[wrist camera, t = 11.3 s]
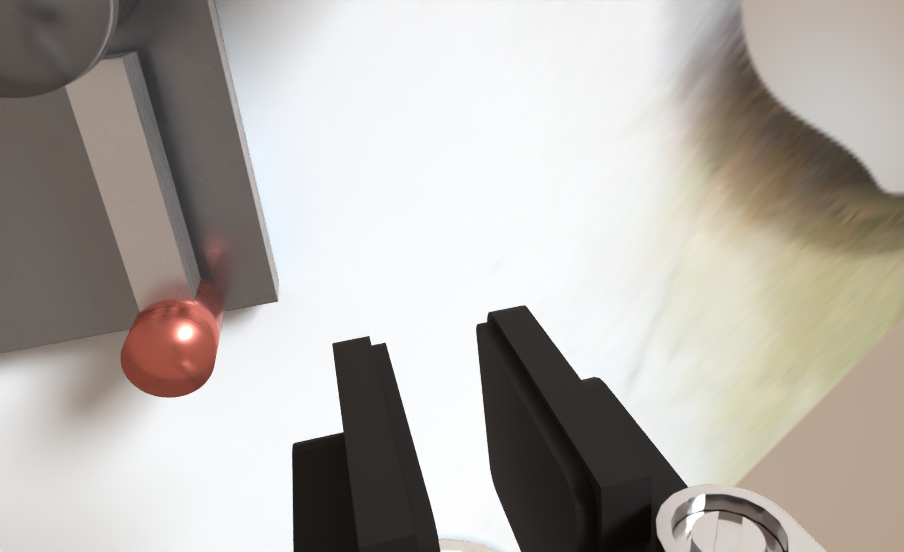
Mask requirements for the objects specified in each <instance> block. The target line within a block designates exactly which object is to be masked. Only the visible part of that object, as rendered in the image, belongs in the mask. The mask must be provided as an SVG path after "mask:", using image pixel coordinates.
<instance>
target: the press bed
mask: <svg viewBox="0 0 904 552" xmlns="http://www.w3.org/2000/svg"><path fill="white" fill-rule="evenodd" d="M133 51H137V54H138V58H139V62H140V65H141V69H142V72H143V76H144V79H145V83H146V86H147V90H148V93H149V97H150V100H151V104H152V108H153V111H154V115H155V118H156V122H157V125H158V129H159V132H160V136H161V139H162V143H163V146H164V150H165V154H166V157H167V161H168V164H169V168H170V171H171V175H172V178H173V182H174V185H175V189H176V192H177V196H178V200H179V203H180V207H181V210H182V214H183V217H184V221H185V224H186V228H187V231H188V235H189V238H190V242H191V246H192V249H193V253H194V256H195V260H196V263H197V267H198V270H199V274H200V277H201V278H202V279H204V280H205V281H207V282H209V283H210V284H211V285H212V286H214V288H215V289H216V290H217V291H218V292H219V294H220V296H221V298H222V300H223V304H224V311H229V310H235V309H240V308H245V307H251V306H256V305H262V304H267V303H272V302H278V281H279V280H278V276H277V272H276V267H275V263H274V259H273V254H272V250H271V246H270V241H269V237H268V233H267V228H266V224H265V220H264V215H263V211H262V207H261V202H260V198H259V194H258V189H257V185H256V181H255V176H254V172H253V168H252V163H251V159H250V155H249V150H248V146H247V141H246V137H245V133H244V128H243V124H242V120H241V115H240V111H239V107H238V102H237V98H236V94H235V89H234V85H233V81H232V76H231V72H230V68H229V63H228V59H227V55H226V50H225V46H224V42H223V37H222V33H221V29H220V24H219V20H218V16H217V11H216V7H215V3H214V0H0V353H4V352H10V351H15V350H20V349H26V348H31V347H36V346H42V345H47V344H53V343H58V342H63V341H69V340H74V339H79V338H85V337H90V336H95V335H101V334H106V333H111V332H117V331H122V330H128V329H131V327H132V325H133V323H134V321H135V318H136V316H137V314H138V312H139V308H138V305H137V302H136V299H135V296H134V293H133V290H132V287H131V284H130V281H129V278H128V275H127V272H126V269H125V266H124V263H123V260H122V257H121V254H120V251H119V248H118V245H117V242H116V239H115V236H114V233H113V230H112V227H111V224H110V221H109V218H108V215H107V211H106V208H105V205H104V202H103V199H102V196H101V193H100V190H99V187H98V184H97V181H96V178H95V175H94V172H93V169H92V166H91V163H90V160H89V157H88V154H87V151H86V148H85V145H84V142H83V139H82V136H81V133H80V130H79V127H78V124H77V121H76V118H75V115H74V112H73V109H72V106H71V103H70V100H69V97H68V94H67V91H66V88H65V86H66V85H68V84H70V83H72V82H74V81H76V80H78V79H80V78H81V77H83V76H84V75H86V74H87V73H88V72H90V71H91V70H92V69H93V68H94V67H95V66H96V65H97V64H98V63H99V62H100V61H101V59H102V58H103V56H104V55H109V54H117V53H125V52H133Z"/></svg>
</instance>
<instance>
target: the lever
mask: <svg viewBox="0 0 904 552" xmlns="http://www.w3.org/2000/svg"><path fill="white" fill-rule="evenodd" d="M65 88H66V91H67V94H68V97H69V100H70V103H71V106H72V109H73V112H74V115H75V118H76V121H77V124H78V127H79V130H80V133H81V136H82V139H83V142H84V145H85V148H86V151H87V154H88V157H89V160H90V163H91V166H92V169H93V172H94V175H95V178H96V181H97V184H98V187H99V190H100V193H101V196H102V199H103V202H104V205H105V208H106V211H107V215H108V218H109V221H110V224H111V227H112V230H113V233H114V236H115V239H116V242H117V245H118V248H119V251H120V254H121V257H122V260H123V263H124V266H125V269H126V272H127V275H128V278H129V281H130V284H131V287H132V290H133V293H134V296H135V299H136V302H137V305H138V308H139V312H138V314H137V316H136V318H135V321H134V323H133V325H132V327H131V329H130V332H129V334H128V336H127V338H126V341H125V343H124V345H123V348H122V351H121V365H122V368H123V371H124V373H125V375H126V376H127V378H128V379H129V380H130V382H131V383H132V384H133V385H135V386H136V387H137V388H139V389H140V390H142V391H144V392H146V393H148V394H151V395H154V396H159V397H179V396H184V395H187V394H190V393H192V392H194V391H196V390H197V389H199V388H200V387H201V386H203V385H204V384H205V383H206V381H207V380H208V379H209V377H210V376H211V374H212V372H213V368H214V364H215V359H216V354H217V348H218V343H219V338H220V332H221V327H222V322H223V316H224V304H223V300H222V298H221V296H220V294H219V292H218V291H217V290H216V289H215V288H214V286H212V285H211V284H210V283H209V282H207V281H205V280H204V279H202V278H201V277H200V274H199V270H198V267H197V263H196V260H195V256H194V253H193V249H192V246H191V242H190V238H189V235H188V231H187V228H186V224H185V221H184V217H183V214H182V210H181V207H180V203H179V200H178V196H177V192H176V189H175V185H174V182H173V178H172V175H171V171H170V168H169V164H168V161H167V157H166V154H165V150H164V146H163V143H162V139H161V136H160V132H159V129H158V125H157V122H156V118H155V115H154V111H153V108H152V104H151V100H150V97H149V93H148V90H147V86H146V83H145V79H144V76H143V72H142V69H141V65H140V62H139V58H138V54H137V51H133V52H125V53H117V54H109V55H104V56H103V58H102V59H101V61H100V62H99V63H98V64H97V65H96V66H95V67H94V68H93V69H92V70H91V71H90V72H88V73H87V74H86V75H84V76H83V77H81V78H80V79H78V80H76V81H74V82H72V83H70V84H68V85H66V86H65Z"/></svg>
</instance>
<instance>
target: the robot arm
mask: <svg viewBox="0 0 904 552" xmlns="http://www.w3.org/2000/svg"><path fill="white" fill-rule="evenodd" d="M476 333H477V344H478V354H479V364H480V374H481V383H482V393H483V403H484V413H485V423H486V433H487V443H488V453H489V462H490V470H491V475H492V479H493V483H494V487H495V489H496V492H497V495H498V497H499V499H500V502H501V504H502V507H503V509H504V511H505V514H506V516H507V519H508V521H509V523H510V526H511V528H512V531H513V533H514V536H515V538H516V540H517V543H518V545H519V548H520V550H521V552H827V551H826V550H825V549H824V548H823V547H822V546H821V545H820V544H819V543H818V542H816V540H814V539H813V538H812V537H811V536H810V535H809V534H808V533H807V532H806V531H805V530H804V529H803V528H802V527H801V526H800V525H799V524H798V523H797V522H796V521H795V520H794V519H793V518H792V517H791V516H790V515H789V514H788V513H787V512H785V511H784V510H783V509H781V508H780V507H779V506H777V505H776V504H775V503H774V502H772V501H771V500H769V499H767V498H765V497H763V496H761V495H758V494H756V493H754V492H752V491H749V490H745V489H742V488H738V487H734V486H730V485H717V484H704V485H698V486H692V487H688V486H687V485H686V484H685V483H684V481H683V480H682V479H681V478H680V476H679V475H678V474H677V473H676V471H675V470H674V469H673V468H672V466H671V465H670V464H669V463H668V461H667V460H666V459H665V458H664V456H663V455H662V454H661V453H660V451H659V450H658V449H657V448H656V446H655V445H654V444H653V443H652V441H651V440H650V439H649V438H648V436H647V435H646V434H645V433H644V431H643V430H642V429H641V428H640V426H639V425H638V424H637V423H636V421H635V420H634V419H633V418H632V416H631V415H630V414H629V413H628V411H627V410H626V409H625V408H624V406H623V405H622V404H621V403H620V401H619V400H618V399H617V398H616V396H615V395H614V394H613V393H612V391H611V390H610V389H609V388H608V386H607V385H606V384H605V383H604V382H603V381H602V380H601V379H600V378H596V377H593V378H588V379H584V380H581V379H580V378H579V376H578V375H577V374H576V372H575V371H574V370H573V368H572V367H571V366H570V364H569V363H568V362H567V360H566V359H565V358H564V356H563V355H562V354H561V352H560V351H559V350H558V348H557V347H556V346H555V344H554V343H553V342H552V340H551V339H550V338H549V336H548V335H547V334H546V332H545V331H544V330H543V328H542V327H541V325H540V324H539V323H538V321H537V320H536V319H535V317H534V316H533V315H532V313H531V312H530V311H529V309H528V308H527V307H526V306H525V305H524V306H518V307H513V308H508V309H503V310H498V311H493V312H489V313H488V317H487V322H486V323H481V324H477V327H476ZM332 345H333V353H334V361H335V368H336V376H337V384H338V392H339V399H340V407H341V415H342V423H343V430H344V432H343V433H338V434H334V435H329V436H324V437H320V438H315V439H311V440H306V441H302V442H297V443H294V444H293V449H292V469H293V544H294V552H497V551H495V550H493V549H491V548H490V547H487V546H484V545H480V544H476V543H473V542H469V541H461V540H450V539H439V540H438V535H437V530H436V525H435V521H434V516H433V512H432V508H431V505H430V501H429V497H428V494H427V490H426V487H425V483H424V479H423V476H422V472H421V469H420V465H419V461H418V458H417V454H416V451H415V447H414V443H413V440H412V436H411V433H410V429H409V425H408V422H407V418H406V415H405V411H404V407H403V404H402V400H401V397H400V393H399V389H398V386H397V382H396V379H395V375H394V371H393V368H392V364H391V361H390V357H389V353H388V350H387V346H386V343H382V344H377V345H372V346H371V342H370V338H369V336H367V337H362V338H357V339H352V340H347V341H342V342H337V343H333V344H332Z"/></svg>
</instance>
